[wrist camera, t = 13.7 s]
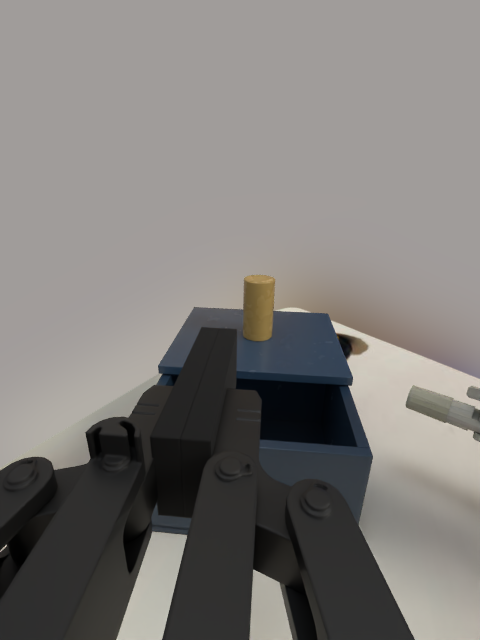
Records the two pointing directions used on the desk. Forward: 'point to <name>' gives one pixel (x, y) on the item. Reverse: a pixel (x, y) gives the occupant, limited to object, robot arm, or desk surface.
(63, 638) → the robot arm
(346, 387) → the bin
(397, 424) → the desk surface
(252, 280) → the lid
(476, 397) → the microphone
